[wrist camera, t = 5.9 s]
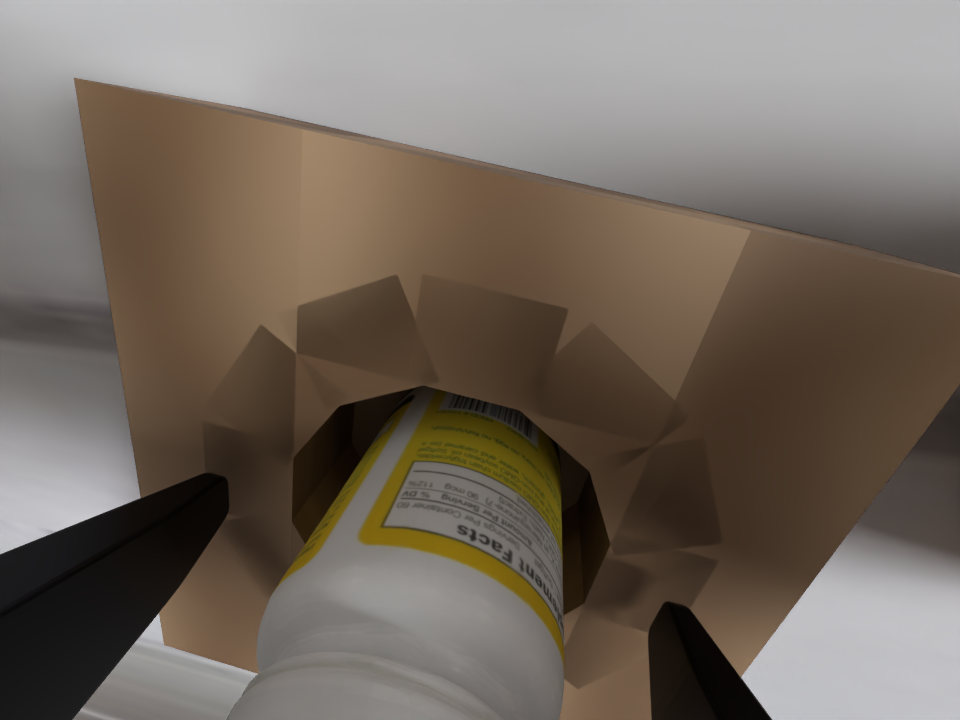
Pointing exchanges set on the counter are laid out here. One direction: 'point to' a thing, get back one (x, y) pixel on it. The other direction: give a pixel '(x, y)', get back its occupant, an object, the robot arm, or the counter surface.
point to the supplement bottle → (426, 579)
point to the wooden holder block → (501, 365)
